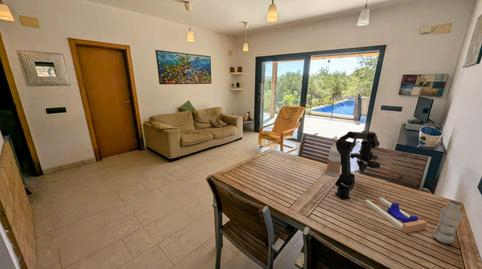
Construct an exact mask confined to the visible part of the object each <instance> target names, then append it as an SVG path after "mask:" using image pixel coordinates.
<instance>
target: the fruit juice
mask: <svg viewBox="0 0 482 269" xmlns="http://www.w3.org/2000/svg"><path fill="white" fill-rule="evenodd" d="M338 140H339V138H338V139H335V138H334V139H333V144H332V145H331V146H330V148H329V151H328V152H329V155H328V157H327V166H326V174H328V176H331V177H338V176H340V175H341V174H340V173H341V157H340V153H339V152H338V151H337V148H336V142H337V141H338Z"/></svg>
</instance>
